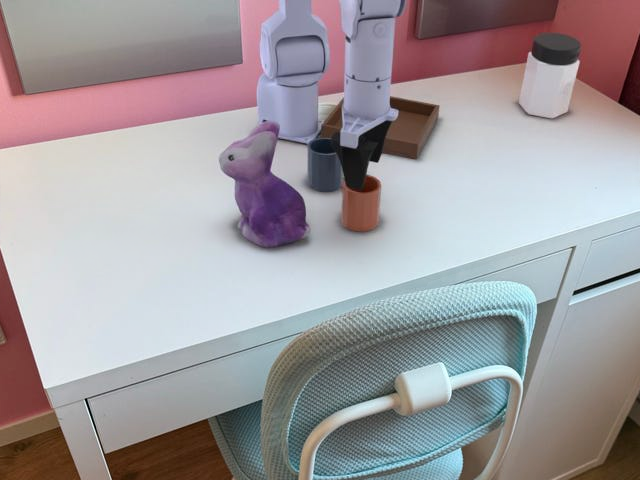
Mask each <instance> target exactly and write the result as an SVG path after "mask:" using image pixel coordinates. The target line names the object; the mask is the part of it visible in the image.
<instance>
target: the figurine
mask: <svg viewBox="0 0 640 480" xmlns="http://www.w3.org/2000/svg"><path fill="white" fill-rule="evenodd" d="M279 130H280V125H279V124H278V123H277V122H273V121H266V122H263V123H262V124H260V125H259V126H258V125H257V126H256V127H255V128H254V129H253V130H252V131H251V133H250V134H248V135H247V136H246V137H245V138H243V139H240V140H235V141H233V142H232V143H231V144H230V145H229V146H228V147H227V148H226V149H224V150H223V151H222V152H221V153H220V154H219V155H218V163H219V167H220V169H221V171H222V173H223V174H224V175H226V176H228V177H230V178H231V179H233V180H234V193H233V194H234V201H235V203H236V206H237V208H238V210H239V212H240V214H241V217H240V219H239V221H238V223H237V228H238V230H240V231H241V233H242V236H243V237H244V238H245V239H246V240H247V241H249V242H251V243H254V245H257V246H260V247H263V248H274V247H278V246H281V245H287V244H292V243H294V242H297V241H300V240H302V239H304V238H306V237H307V236H308V235H309V234H311V227H310V225H309V224H308V223H307V207H306V202H305V200H304V197H303V195H301V193H300V192H299V191H298V190H297V189H296V188H295V187H293V186H292V185H291V184H289V183H288V182H287V181H285V180H284V179H282V178H280V177H278V176H277V175H275V174H274V173H273V172H272V165H273V160H274V156H275V152H276V149H277V148H276V147H277V143H278V139H279V138H278V135H279Z"/></svg>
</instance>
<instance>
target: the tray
mask: <svg viewBox="0 0 640 480" xmlns="http://www.w3.org/2000/svg"><path fill="white" fill-rule="evenodd" d="M343 103H344V96H343V97H342V99H340V101H339V102H338V104H337V105H336V106H334V107H335V108H334V109H333V110H332V111H331V112H330V114H329V115H328V116H327V118H326V119H325V120H323V121H324V123H323V124H322V125H321V132H320V138H331V137H332V136H333V134H334V133H335V132H340V133H341V129H342V128H343V122H342V105H343ZM390 106H393V107H395V108H397V109H398V117H397V118H396V120H394V121H392V123H391V125H390V128H389V130H388V133H387V136H386V139H385V143H384V147H383V151H382V154H383V153H384V154H389V155H394V156H400V157H404V158H408V159H412V160H413V159H414V160H417V159H418V158H419V156H420V154H421V152H422V150H423V148H424V147H425V144H426V142H427V141H428V139H429V137H430V135H431V133H432V131H433V129H434V127H435V126H436V124H437V122H438V120H439V115H440V104H434V103H429V102H423V101H418V100H413V99H407V98H402V97H397V96H392V95H390Z"/></svg>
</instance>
